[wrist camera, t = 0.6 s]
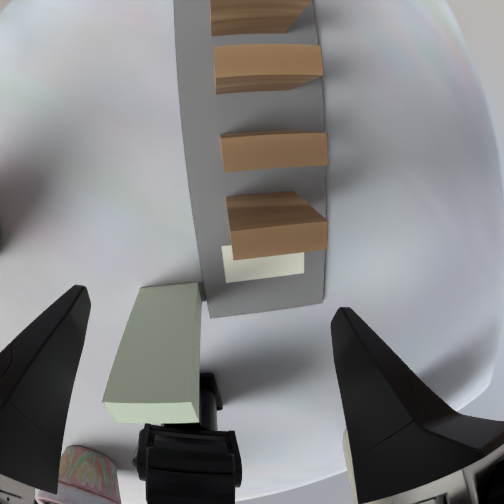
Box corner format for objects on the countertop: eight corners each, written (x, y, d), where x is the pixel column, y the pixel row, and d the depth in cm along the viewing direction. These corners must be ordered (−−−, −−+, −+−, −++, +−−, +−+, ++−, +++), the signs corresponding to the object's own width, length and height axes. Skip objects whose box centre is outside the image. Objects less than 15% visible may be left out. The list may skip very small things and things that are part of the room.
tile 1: (201, 302, 25) (199, 422, 14) (146, 307, 24) (115, 422, 13) (197, 281, 24) (190, 402, 13) (140, 288, 23) (102, 402, 12)
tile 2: (288, 90, 18) (323, 75, 12) (215, 94, 18) (215, 77, 11) (286, 69, 17) (320, 45, 11) (214, 73, 17) (213, 46, 11)
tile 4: (294, 211, 22) (327, 249, 15) (227, 218, 21) (233, 260, 15) (294, 190, 21) (328, 221, 15) (225, 197, 21) (230, 231, 14)
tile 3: (292, 151, 20) (327, 165, 14) (221, 157, 19) (224, 172, 13) (291, 129, 19) (327, 133, 13) (219, 134, 19) (221, 138, 12)
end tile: (283, 33, 16) (314, -3, 10) (211, 36, 16) (210, -4, 9) (281, 15, 15) (310, -26, 9) (210, 17, 15) (208, -28, 9)
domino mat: (321, 300, 26) (322, 303, 26) (210, 315, 25) (210, 318, 25) (307, -22, 14) (308, -25, 14) (173, -19, 13) (173, -22, 13)
